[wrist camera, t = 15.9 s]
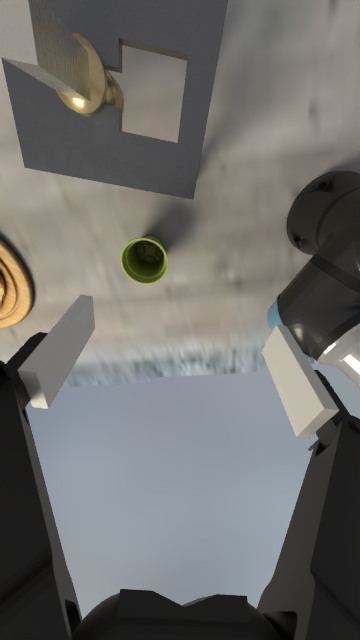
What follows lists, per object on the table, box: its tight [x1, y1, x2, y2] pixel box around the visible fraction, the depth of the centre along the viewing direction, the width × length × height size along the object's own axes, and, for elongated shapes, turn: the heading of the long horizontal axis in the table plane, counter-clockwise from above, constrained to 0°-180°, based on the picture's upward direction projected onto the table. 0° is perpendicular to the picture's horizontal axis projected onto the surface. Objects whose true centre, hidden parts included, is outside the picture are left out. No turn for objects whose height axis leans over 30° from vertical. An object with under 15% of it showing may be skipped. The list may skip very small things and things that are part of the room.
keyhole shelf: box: [2, 0, 228, 199], centre depth 29 cm, size 22×18×16 cm
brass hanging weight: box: [0, 0, 124, 115], centre depth 22 cm, size 6×6×20 cm
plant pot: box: [120, 236, 168, 285], centre depth 45 cm, size 9×9×9 cm
